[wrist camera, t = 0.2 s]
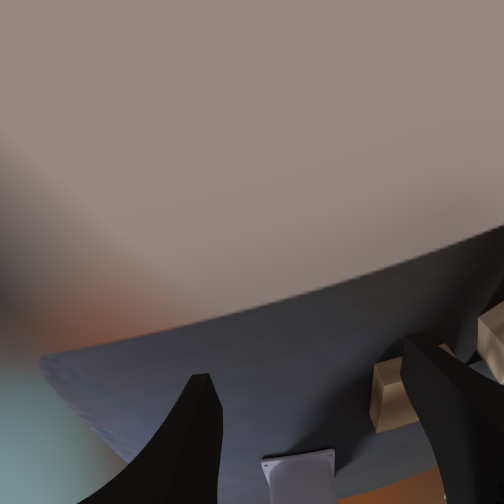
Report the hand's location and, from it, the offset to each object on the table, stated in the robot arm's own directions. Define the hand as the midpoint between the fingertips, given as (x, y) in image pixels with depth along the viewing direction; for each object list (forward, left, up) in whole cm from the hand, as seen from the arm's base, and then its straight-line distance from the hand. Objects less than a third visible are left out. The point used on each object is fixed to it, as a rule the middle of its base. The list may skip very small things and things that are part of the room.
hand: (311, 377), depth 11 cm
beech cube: (-11, -20, -10) cm, 25 cm away
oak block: (-14, -10, -10) cm, 20 cm away
